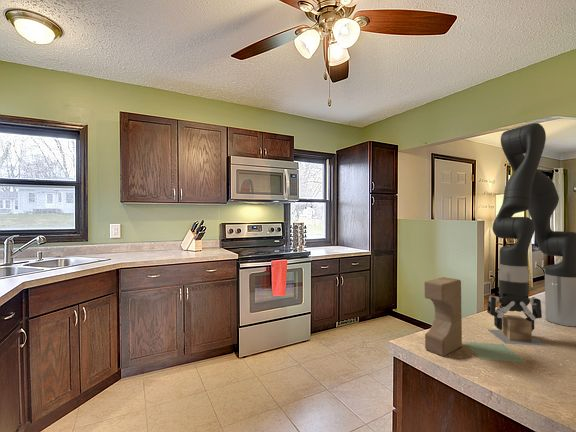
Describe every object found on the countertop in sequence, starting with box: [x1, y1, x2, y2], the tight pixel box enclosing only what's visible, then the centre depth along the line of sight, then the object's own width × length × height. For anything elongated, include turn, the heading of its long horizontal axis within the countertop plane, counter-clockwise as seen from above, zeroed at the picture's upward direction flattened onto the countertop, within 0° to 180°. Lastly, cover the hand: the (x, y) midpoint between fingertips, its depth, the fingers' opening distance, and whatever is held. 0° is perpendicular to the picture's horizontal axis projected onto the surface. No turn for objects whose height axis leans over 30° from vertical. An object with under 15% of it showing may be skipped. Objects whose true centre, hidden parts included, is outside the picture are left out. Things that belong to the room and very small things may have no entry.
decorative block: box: [423, 276, 463, 357], centre depth 84 cm, size 11×6×20 cm, turn 124°
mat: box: [463, 341, 528, 363], centre depth 81 cm, size 11×11×1 cm
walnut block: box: [498, 314, 533, 342], centre depth 91 cm, size 6×6×6 cm
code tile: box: [487, 329, 547, 347], centre depth 91 cm, size 11×11×1 cm
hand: (513, 329), depth 91 cm, fingers open, 8 cm apart
